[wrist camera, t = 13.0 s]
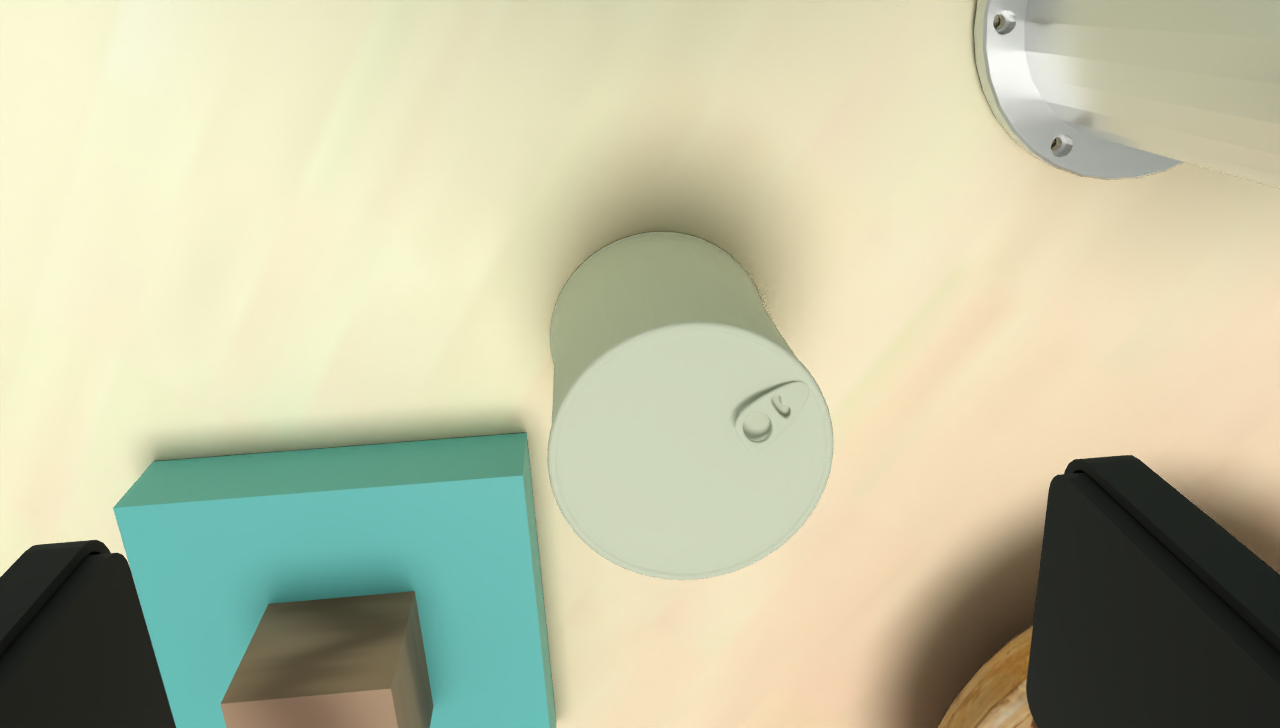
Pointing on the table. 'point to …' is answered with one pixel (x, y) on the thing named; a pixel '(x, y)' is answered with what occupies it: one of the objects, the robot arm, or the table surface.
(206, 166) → the table surface
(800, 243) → the table surface
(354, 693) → the walnut cube
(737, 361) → the can
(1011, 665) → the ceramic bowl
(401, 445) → the teal base
